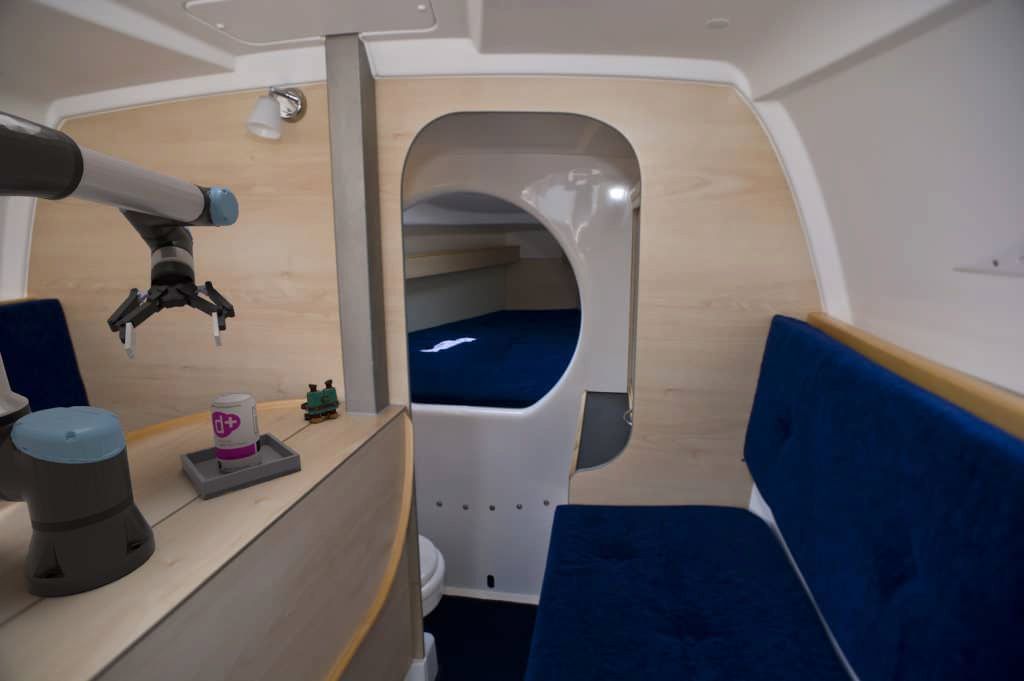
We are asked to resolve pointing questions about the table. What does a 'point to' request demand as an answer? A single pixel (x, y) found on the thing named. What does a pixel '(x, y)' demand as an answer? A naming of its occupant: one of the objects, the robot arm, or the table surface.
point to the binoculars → (321, 402)
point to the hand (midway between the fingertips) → (175, 347)
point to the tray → (217, 482)
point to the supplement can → (236, 432)
